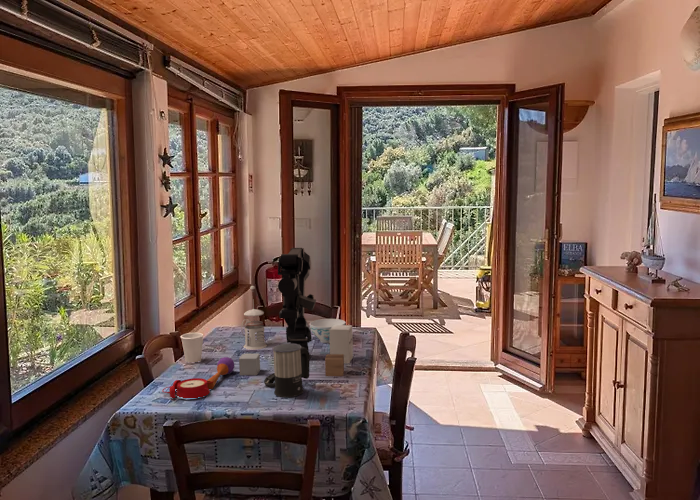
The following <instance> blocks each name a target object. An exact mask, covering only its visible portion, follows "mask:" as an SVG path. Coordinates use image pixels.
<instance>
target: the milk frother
mask: <svg viewBox="0 0 700 500" xmlns="http://www.w3.org/2000/svg"><path fill="white" fill-rule="evenodd" d="M308 350H309V349H308ZM308 350H307V349H306V348H304V347H301V346H300V345H298V344H290V343H281V344H277V345H274V346H273V347H272V351H273V370H274V373H271V374H269V375H267V376H266V377H265V378H264V381H263V382H264V383H263V384H264V385H265V386H266V387H269V388H274V395H275V396H277V397H280V398H293V397H297V396H300V395H302V394H303V393H304V388H303V379H306V380H307V379H309V377H310V357H309V355H310V352H309V351H310V350H309V351H308Z"/></svg>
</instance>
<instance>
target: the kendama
mask: <svg viewBox="0 0 700 500" xmlns="http://www.w3.org/2000/svg"><path fill="white" fill-rule="evenodd" d="M216 366H217V367H216V373H214V374H213V375H212V376H211V377H210V378H208V379H206V380H207V382H212V383H207V386H208V389H212V390H213V389H214V387H215V385H216V384H217V382H218V380H219V378H220V376H224V375H229V374H231V373H232V372H233V371H234V369H235V361H234V360H233V359H232V358H231V357H228V356H224V357H223V356H222V357H221V358H220V359H219V360H218V361H217V364H216ZM213 381H214V382H213Z"/></svg>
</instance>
